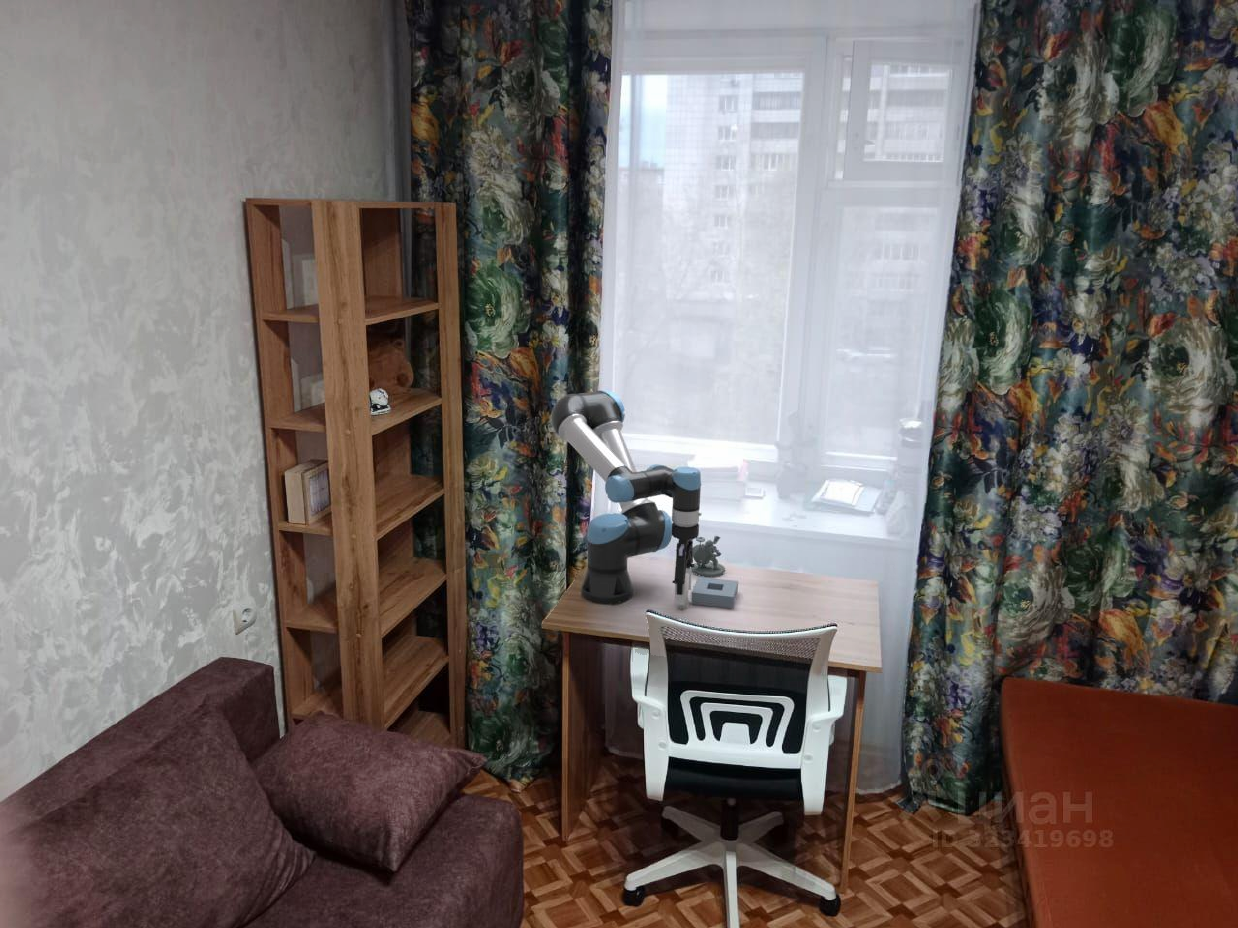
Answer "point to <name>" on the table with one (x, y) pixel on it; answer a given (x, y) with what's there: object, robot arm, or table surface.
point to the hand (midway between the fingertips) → (682, 596)
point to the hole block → (714, 592)
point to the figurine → (707, 558)
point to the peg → (685, 593)
